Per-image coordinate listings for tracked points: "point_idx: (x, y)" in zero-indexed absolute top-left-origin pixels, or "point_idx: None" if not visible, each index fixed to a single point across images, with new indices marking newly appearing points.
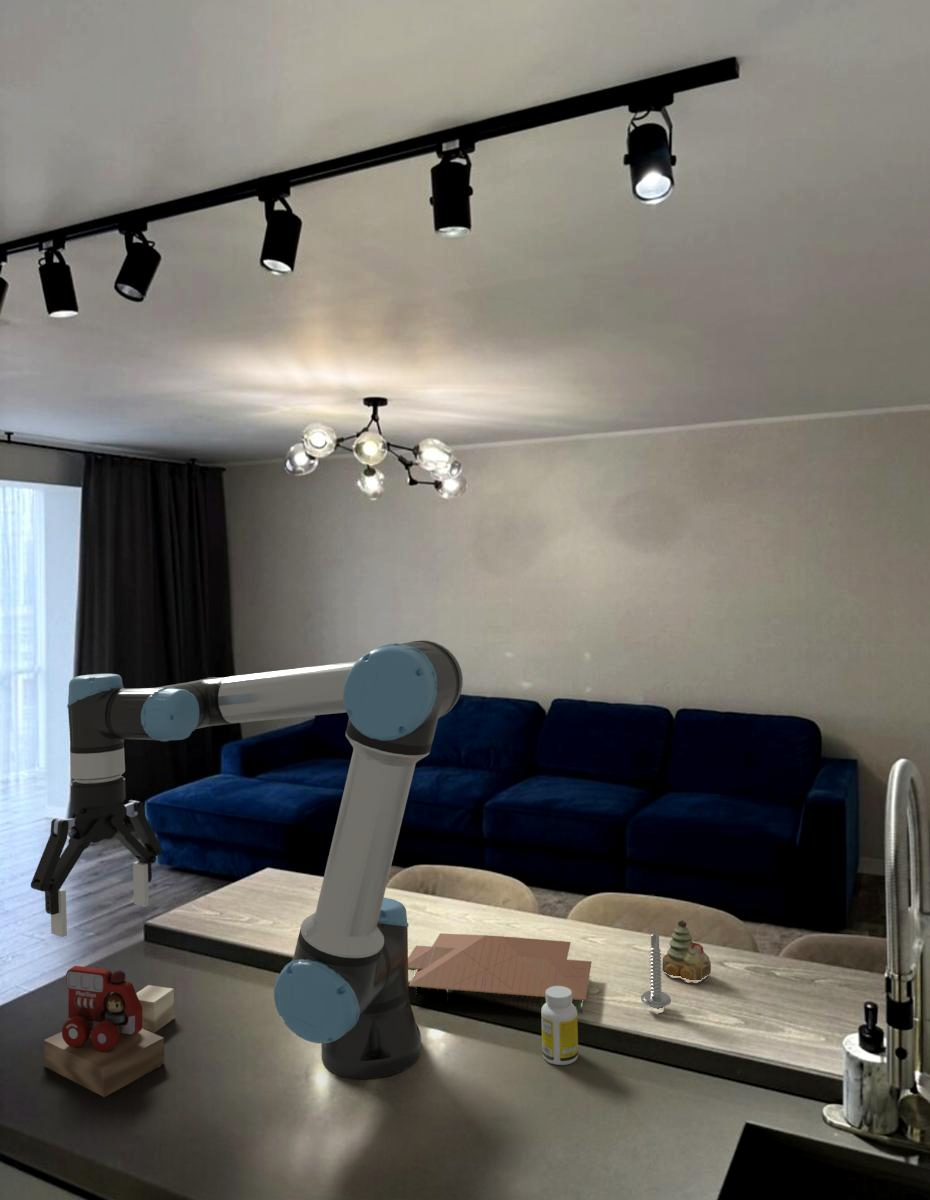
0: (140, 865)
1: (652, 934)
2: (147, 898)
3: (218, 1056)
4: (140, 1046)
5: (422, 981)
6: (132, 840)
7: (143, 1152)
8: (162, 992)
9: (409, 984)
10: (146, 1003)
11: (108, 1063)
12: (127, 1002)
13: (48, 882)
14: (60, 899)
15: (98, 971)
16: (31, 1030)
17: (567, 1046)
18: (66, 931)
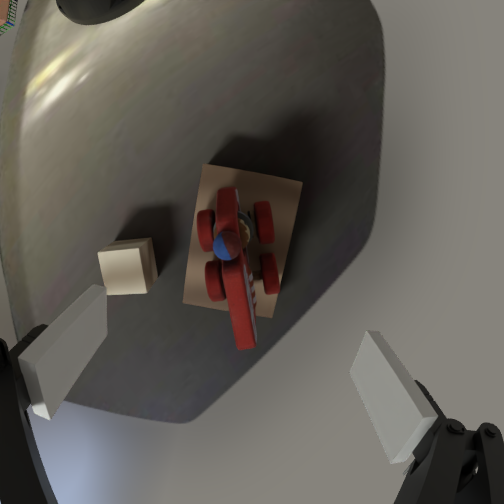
0: (40, 380)
1: None
2: (86, 294)
3: (166, 112)
4: (236, 177)
5: (1, 13)
6: (19, 492)
7: (356, 69)
8: (112, 259)
9: (5, 21)
10: (141, 260)
11: (289, 186)
12: (236, 207)
13: (486, 442)
14: (424, 399)
15: (239, 289)
16: (214, 375)
17: None
18: (372, 335)
